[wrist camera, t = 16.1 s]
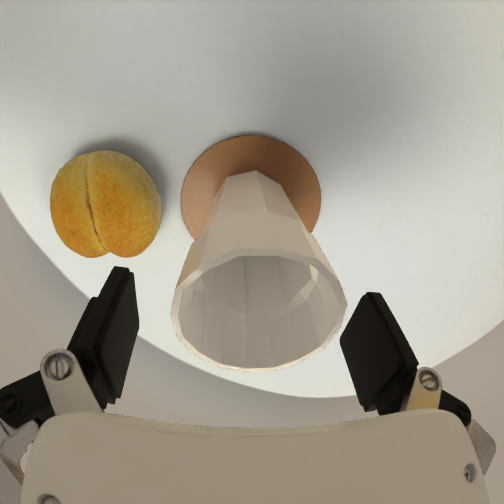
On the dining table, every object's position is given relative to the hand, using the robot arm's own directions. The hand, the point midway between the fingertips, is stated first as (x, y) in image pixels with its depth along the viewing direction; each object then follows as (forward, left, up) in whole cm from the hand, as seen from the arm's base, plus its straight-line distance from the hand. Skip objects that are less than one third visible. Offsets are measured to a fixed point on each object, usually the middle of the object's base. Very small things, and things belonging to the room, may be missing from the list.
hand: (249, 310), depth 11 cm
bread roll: (-10, -1, -11) cm, 15 cm away
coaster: (0, 0, -11) cm, 11 cm away
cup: (0, 0, -11) cm, 10 cm away
